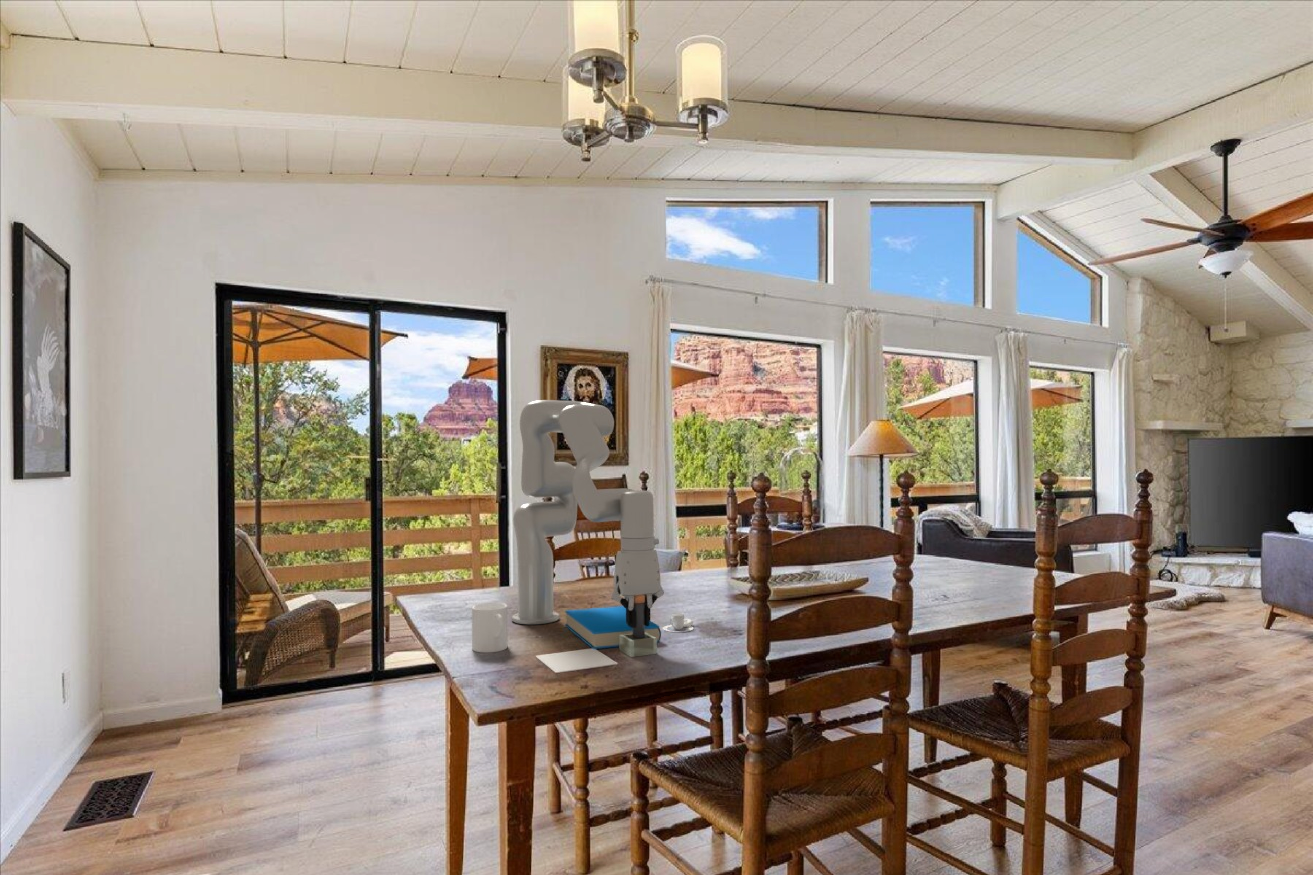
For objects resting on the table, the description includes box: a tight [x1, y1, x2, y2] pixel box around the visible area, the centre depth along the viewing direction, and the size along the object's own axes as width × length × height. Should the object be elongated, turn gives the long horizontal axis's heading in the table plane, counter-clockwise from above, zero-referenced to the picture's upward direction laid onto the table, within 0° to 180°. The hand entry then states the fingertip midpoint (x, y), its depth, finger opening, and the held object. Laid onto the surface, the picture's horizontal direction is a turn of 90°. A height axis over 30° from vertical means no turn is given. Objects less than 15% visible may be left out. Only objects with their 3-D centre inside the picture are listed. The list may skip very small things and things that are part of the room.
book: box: [564, 605, 662, 650], centre depth 193 cm, size 17×4×25 cm
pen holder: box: [618, 632, 658, 658], centre depth 176 cm, size 6×6×4 cm
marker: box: [632, 595, 645, 639], centre depth 176 cm, size 3×3×10 cm
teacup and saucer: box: [662, 612, 695, 633], centre depth 198 cm, size 9×8×4 cm
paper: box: [534, 647, 619, 674], centre depth 169 cm, size 14×14×1 cm
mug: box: [471, 602, 509, 654], centre depth 179 cm, size 8×12×10 cm, turn 32°
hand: (638, 625), depth 176 cm, fingers closed on marker, 2 cm apart
